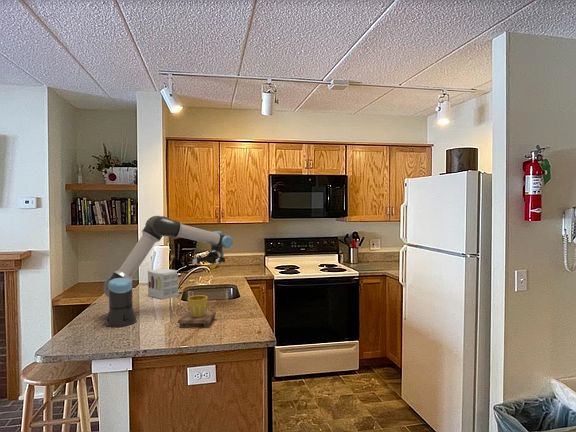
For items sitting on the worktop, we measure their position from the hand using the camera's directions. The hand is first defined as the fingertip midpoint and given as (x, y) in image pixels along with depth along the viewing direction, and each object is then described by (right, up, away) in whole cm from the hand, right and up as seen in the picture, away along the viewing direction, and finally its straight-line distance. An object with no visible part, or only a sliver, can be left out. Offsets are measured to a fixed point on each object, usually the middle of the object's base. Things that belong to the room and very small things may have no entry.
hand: (204, 262), depth 221 cm
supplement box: (-39, -29, +46) cm, 67 cm away
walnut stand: (0, -30, -17) cm, 35 cm away
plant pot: (0, -27, -17) cm, 32 cm away
